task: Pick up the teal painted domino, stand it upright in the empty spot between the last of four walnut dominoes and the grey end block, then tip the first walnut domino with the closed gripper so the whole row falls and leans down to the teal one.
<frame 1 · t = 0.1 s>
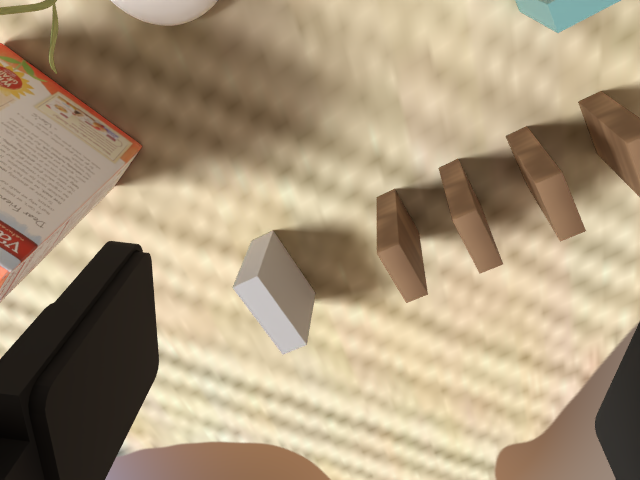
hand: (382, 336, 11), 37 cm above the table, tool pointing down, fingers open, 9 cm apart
end block: (284, 267, 54), on the table
cracker box: (62, 119, 49), on the table
tile 4: (398, 215, 51), on the table
tile 2: (526, 156, 47), on the table
tile 1: (599, 123, 45), on the table
tile 3: (460, 187, 49), on the table
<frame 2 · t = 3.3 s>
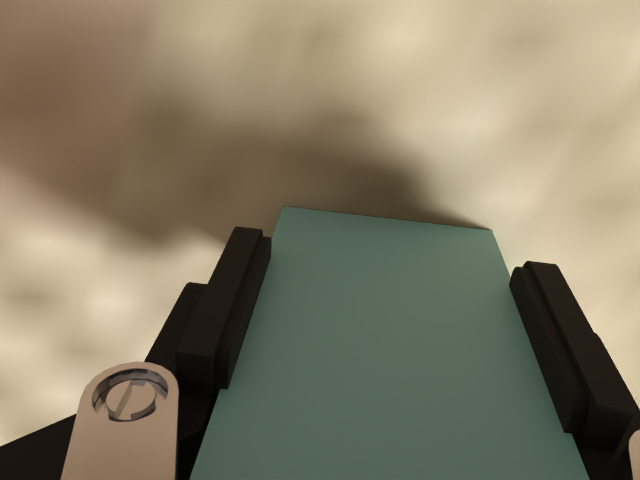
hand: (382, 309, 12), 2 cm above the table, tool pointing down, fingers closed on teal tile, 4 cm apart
teal tile: (381, 250, 14), on the table, touching gripper
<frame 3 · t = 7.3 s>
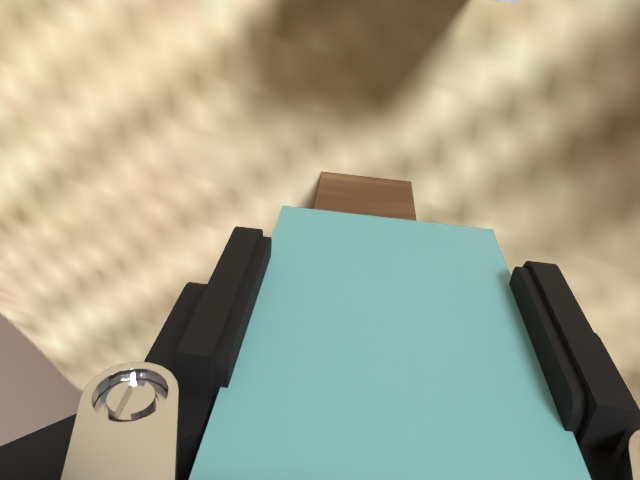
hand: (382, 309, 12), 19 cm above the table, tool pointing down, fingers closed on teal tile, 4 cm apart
tile 4: (364, 191, 31), on the table
teal tile: (381, 250, 14), point 17 cm above the table, touching gripper
when the fingers open (3 cm above the table, at t = 11.5 s): teal tile stays where it is, on the table.
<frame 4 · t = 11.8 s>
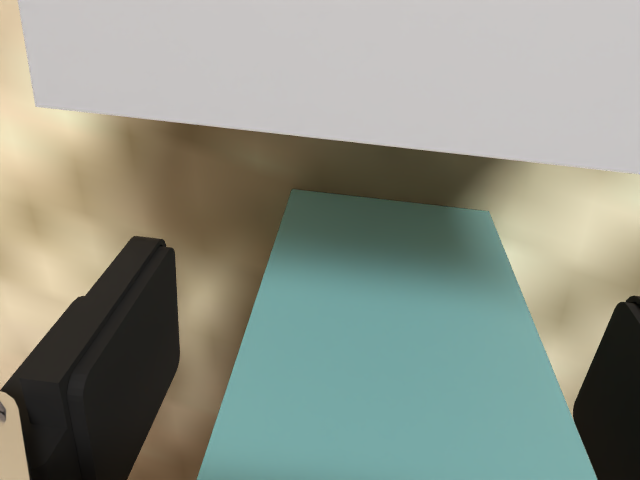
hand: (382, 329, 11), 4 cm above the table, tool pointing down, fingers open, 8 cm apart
teal tile: (384, 231, 14), on the table
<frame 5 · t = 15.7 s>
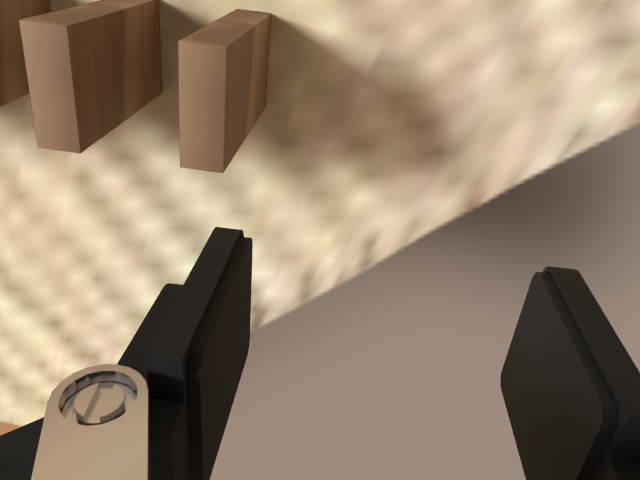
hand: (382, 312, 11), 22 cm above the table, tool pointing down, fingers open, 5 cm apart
tile 2: (144, 45, 30), on the table
tile 1: (251, 59, 30), on the table
tile 3: (37, 31, 31), on the table
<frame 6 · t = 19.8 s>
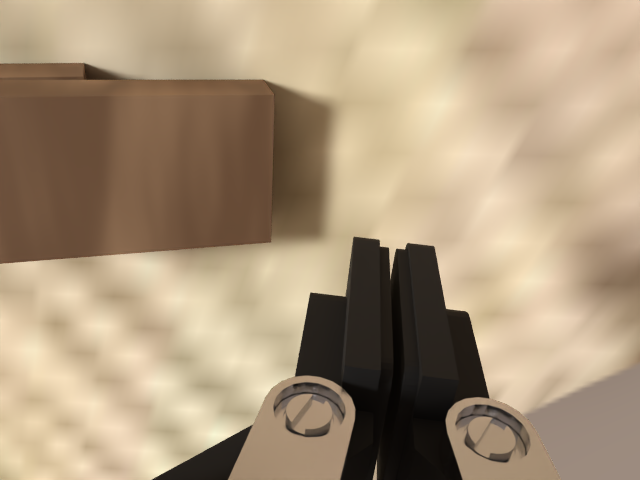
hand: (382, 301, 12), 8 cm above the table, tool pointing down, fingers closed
tile 2: (94, 145, 19), point 1 cm above the table, tilted 66°, touching tile 1, tile 3
tile 1: (267, 163, 18), point 1 cm above the table, tilted 69°, touching tile 2
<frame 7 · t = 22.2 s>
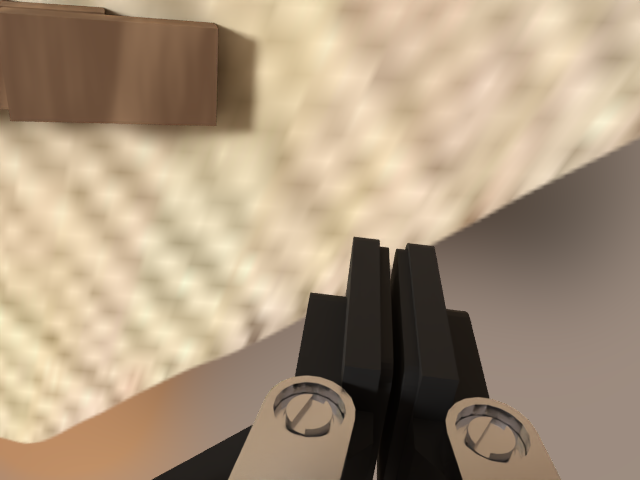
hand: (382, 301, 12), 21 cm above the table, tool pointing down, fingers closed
tile 2: (107, 59, 30), point 1 cm above the table, tilted 65°, touching tile 1, tile 3
tile 1: (215, 75, 30), point 1 cm above the table, tilted 69°, touching tile 2
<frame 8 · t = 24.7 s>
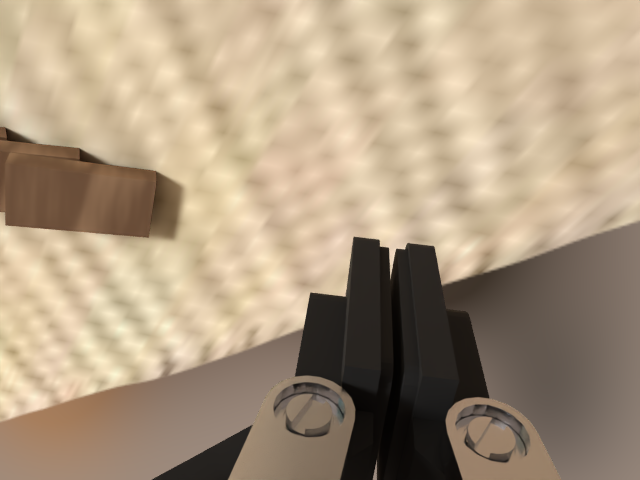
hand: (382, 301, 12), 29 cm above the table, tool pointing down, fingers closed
tile 2: (77, 182, 43), point 1 cm above the table, tilted 64°, touching tile 1, tile 3
tile 1: (152, 204, 43), point 1 cm above the table, tilted 69°, touching tile 2
tile 3: (6, 162, 43), point 1 cm above the table, tilted 56°, touching tile 2, tile 4
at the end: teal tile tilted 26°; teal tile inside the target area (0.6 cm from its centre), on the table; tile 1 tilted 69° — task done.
